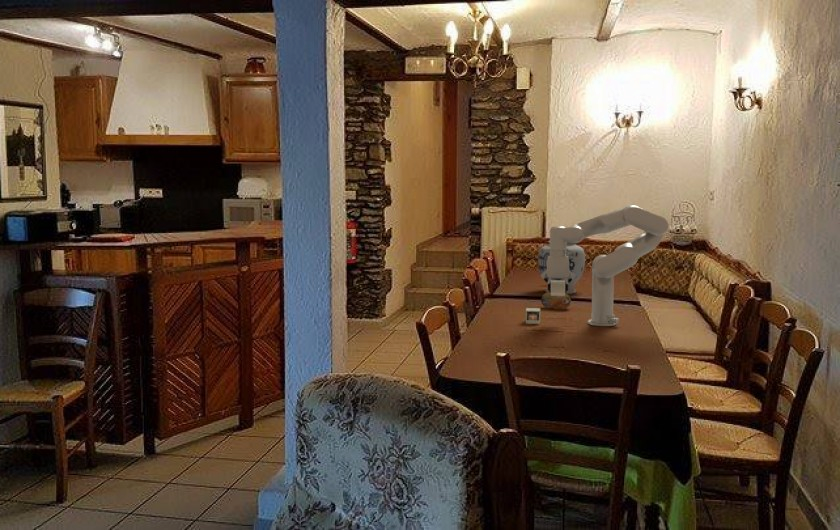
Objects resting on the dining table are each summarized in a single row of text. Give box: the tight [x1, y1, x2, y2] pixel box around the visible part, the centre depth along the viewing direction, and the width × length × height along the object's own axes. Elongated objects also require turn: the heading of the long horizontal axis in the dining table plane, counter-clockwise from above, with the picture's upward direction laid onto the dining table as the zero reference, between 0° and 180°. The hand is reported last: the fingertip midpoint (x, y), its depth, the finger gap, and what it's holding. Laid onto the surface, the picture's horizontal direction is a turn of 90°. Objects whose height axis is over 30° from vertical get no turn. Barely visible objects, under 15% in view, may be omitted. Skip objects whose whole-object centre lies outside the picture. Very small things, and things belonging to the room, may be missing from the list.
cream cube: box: [551, 281, 565, 296], centre depth 338 cm, size 6×6×6 cm
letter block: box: [529, 313, 537, 320], centre depth 342 cm, size 4×4×4 cm
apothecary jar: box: [537, 240, 586, 295], centre depth 429 cm, size 27×27×30 cm
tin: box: [541, 292, 572, 310], centre depth 377 cm, size 15×3×8 cm, turn 62°
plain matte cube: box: [525, 307, 541, 325], centre depth 342 cm, size 6×6×6 cm
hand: (557, 292), depth 338 cm, fingers closed on cream cube, 6 cm apart
